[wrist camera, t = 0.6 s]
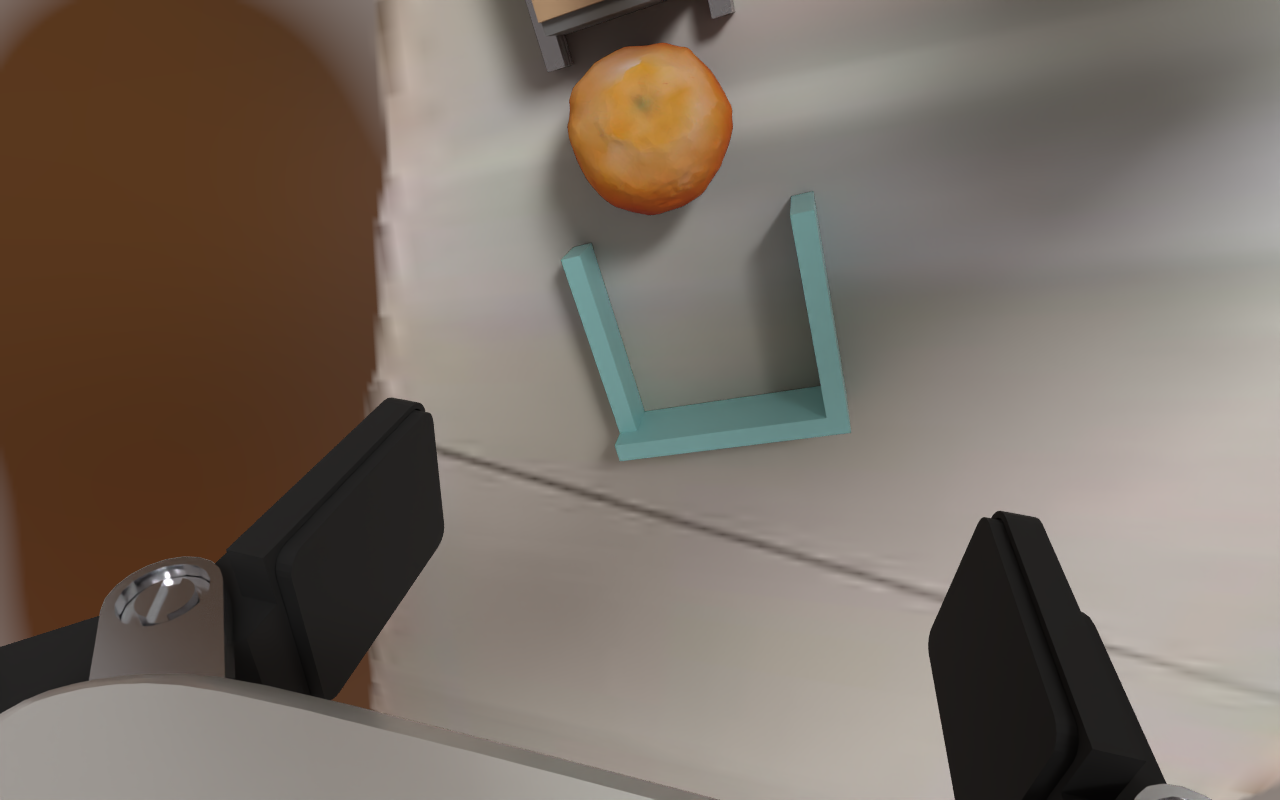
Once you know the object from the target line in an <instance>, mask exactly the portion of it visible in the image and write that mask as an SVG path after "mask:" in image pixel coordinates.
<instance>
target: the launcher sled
mask: <svg viewBox="0 0 1280 800" xmlns="http://www.w3.org/2000/svg"><path fill="white" fill-rule="evenodd" d="M663 1H666V0H532V3H533V7H534V10H535V13H536V16H537V20H538V23H542V26H543V30H544V33H545V36H546V37H547V36H555V35H564V34H569V33H572V32H575V31H578V30H581V29H584V28H587V27H590V26H593V25H596V24H599V23H602V22H605V21H608V20H610V19H613V18H616V17H619V16H622V15H625V14H628V13H631V12H634V11H637V10H640V9H643V8H646V7H649V6H652V5H654V4H657V3H660V2H663Z"/></svg>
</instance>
